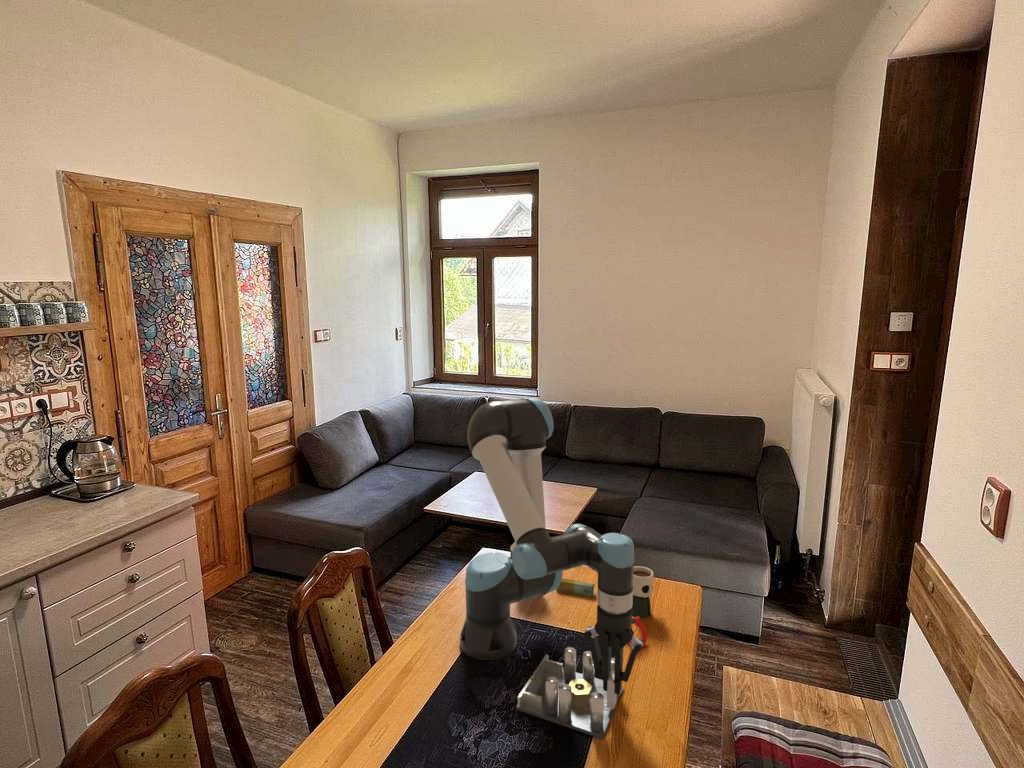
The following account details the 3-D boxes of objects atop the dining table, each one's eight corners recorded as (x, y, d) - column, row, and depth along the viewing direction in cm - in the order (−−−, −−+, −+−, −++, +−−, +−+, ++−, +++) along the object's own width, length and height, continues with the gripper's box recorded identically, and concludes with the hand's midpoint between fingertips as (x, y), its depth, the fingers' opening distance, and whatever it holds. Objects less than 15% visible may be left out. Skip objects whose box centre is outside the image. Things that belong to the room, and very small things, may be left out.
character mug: (639, 625, 159) (640, 582, 157) (618, 615, 164) (619, 573, 162) (660, 611, 166) (662, 570, 164) (640, 601, 171) (641, 561, 169)
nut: (564, 703, 127) (565, 691, 126) (573, 687, 132) (573, 676, 131) (586, 710, 124) (586, 698, 124) (593, 694, 130) (594, 682, 129)
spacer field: (516, 709, 126) (516, 677, 125) (545, 665, 141) (545, 637, 140) (602, 739, 117) (603, 705, 116) (623, 689, 132) (624, 659, 131)
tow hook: (633, 651, 146) (623, 622, 148) (609, 653, 154) (600, 626, 156) (651, 643, 149) (641, 614, 152) (627, 645, 157) (618, 618, 160)
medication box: (594, 596, 175) (595, 583, 175) (593, 599, 172) (593, 587, 172) (557, 589, 179) (558, 576, 179) (555, 592, 176) (556, 579, 176)
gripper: (580, 607, 121) (578, 706, 124) (640, 622, 115) (636, 725, 119) (591, 591, 127) (588, 685, 131) (648, 604, 122) (644, 702, 125)
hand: (611, 704), depth 125 cm, fingers closed
